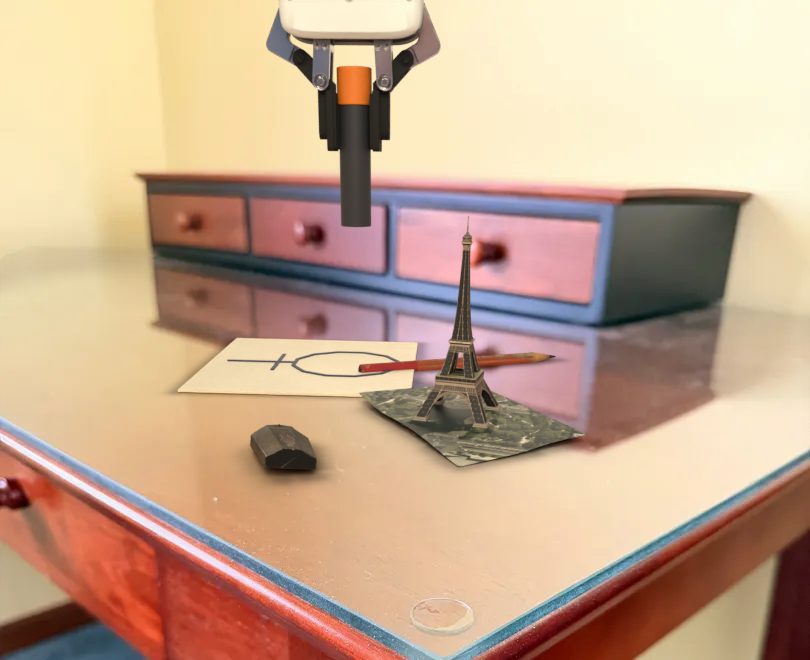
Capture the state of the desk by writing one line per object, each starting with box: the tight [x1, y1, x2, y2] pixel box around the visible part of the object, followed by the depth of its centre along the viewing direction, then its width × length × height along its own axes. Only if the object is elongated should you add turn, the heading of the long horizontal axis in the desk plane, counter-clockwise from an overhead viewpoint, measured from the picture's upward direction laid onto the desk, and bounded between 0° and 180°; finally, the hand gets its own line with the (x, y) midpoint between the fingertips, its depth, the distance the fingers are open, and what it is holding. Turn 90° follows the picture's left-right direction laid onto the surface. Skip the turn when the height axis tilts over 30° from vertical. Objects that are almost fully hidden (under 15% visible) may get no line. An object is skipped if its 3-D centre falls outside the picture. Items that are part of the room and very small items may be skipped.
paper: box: [177, 337, 419, 398], centre depth 72 cm, size 18×20×1 cm
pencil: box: [358, 351, 557, 373], centre depth 72 cm, size 19×1×1 cm, turn 110°
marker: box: [336, 65, 373, 228], centre depth 63 cm, size 3×3×11 cm
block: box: [249, 423, 318, 471], centre depth 49 cm, size 4×6×2 cm, turn 18°
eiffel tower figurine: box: [359, 215, 588, 468], centre depth 54 cm, size 15×10×13 cm
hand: (355, 148), depth 63 cm, fingers closed on marker, 2 cm apart
